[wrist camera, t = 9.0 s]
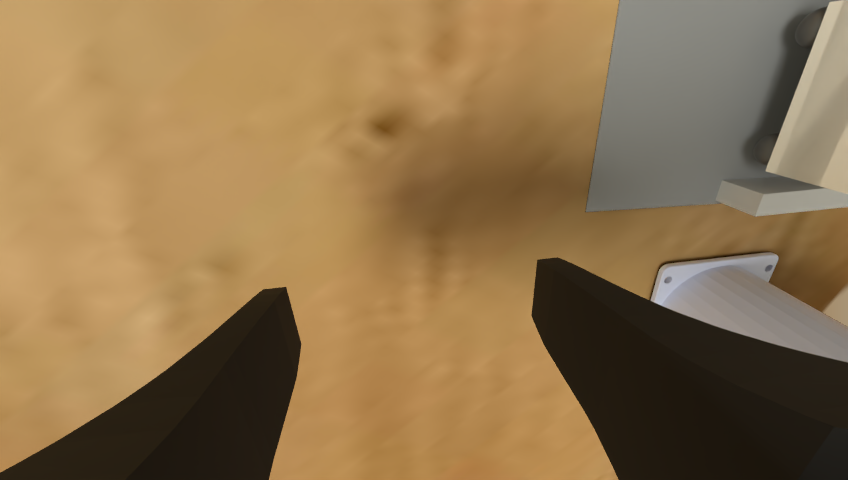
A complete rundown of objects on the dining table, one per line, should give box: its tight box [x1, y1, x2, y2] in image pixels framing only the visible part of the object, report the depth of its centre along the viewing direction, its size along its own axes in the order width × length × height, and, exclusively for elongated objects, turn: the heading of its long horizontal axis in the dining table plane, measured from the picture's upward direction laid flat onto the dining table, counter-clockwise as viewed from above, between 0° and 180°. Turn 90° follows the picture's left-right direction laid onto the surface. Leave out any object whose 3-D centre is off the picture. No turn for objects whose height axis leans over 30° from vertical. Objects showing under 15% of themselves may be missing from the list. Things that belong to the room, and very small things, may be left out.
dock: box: [586, 0, 848, 216], centre depth 17 cm, size 12×18×5 cm
